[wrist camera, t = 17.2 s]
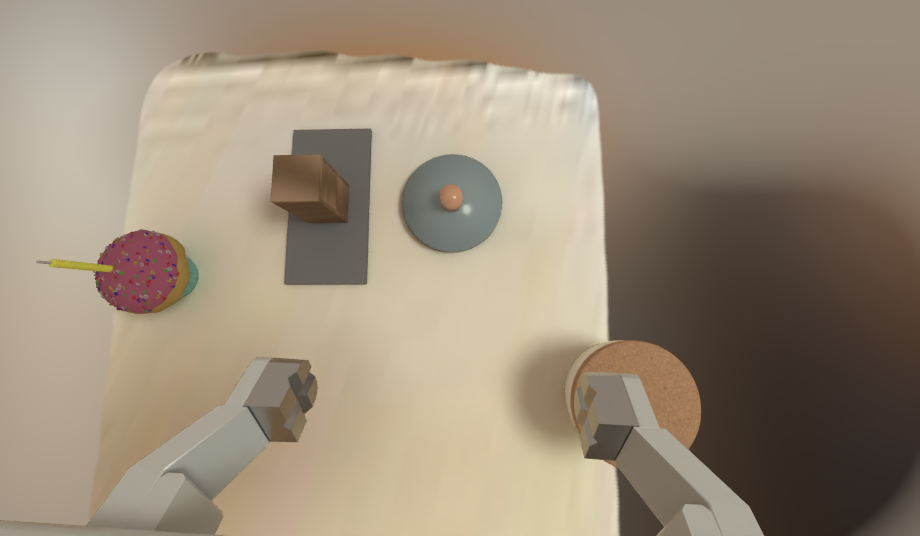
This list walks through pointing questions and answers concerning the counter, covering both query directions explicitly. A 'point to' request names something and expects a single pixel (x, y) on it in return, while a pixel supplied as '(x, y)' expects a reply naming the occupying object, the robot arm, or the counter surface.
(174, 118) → the counter surface
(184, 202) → the counter surface
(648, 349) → the lidded jar
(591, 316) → the counter surface
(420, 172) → the slate saucer
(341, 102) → the counter surface
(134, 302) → the cupcake
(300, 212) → the brown rectangular block
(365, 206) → the rubber mat
